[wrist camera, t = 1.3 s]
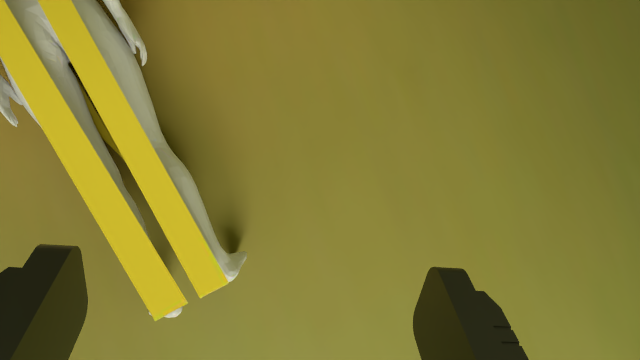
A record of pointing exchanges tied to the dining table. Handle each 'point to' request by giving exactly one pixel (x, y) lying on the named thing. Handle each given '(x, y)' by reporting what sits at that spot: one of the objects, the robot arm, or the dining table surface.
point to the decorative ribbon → (110, 139)
